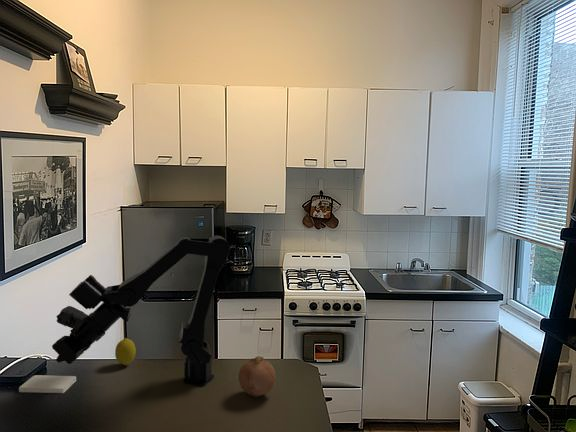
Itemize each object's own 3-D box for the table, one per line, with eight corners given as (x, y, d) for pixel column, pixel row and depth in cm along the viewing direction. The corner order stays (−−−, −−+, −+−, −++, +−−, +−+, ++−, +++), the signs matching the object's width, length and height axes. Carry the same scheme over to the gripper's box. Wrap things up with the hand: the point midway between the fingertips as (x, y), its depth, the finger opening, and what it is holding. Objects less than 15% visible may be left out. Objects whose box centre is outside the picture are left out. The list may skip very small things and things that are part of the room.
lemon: (129, 370, 128) (129, 342, 127) (111, 368, 129) (111, 340, 128) (139, 362, 133) (139, 336, 132) (122, 360, 134) (122, 334, 134)
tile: (76, 376, 120) (34, 375, 120) (63, 388, 113) (19, 387, 113) (76, 382, 120) (34, 381, 120) (63, 395, 113) (19, 393, 113)
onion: (247, 384, 121) (248, 348, 120) (280, 391, 118) (281, 353, 117) (231, 400, 112) (232, 361, 111) (266, 407, 109) (267, 367, 108)
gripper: (93, 288, 124) (53, 326, 125) (60, 307, 106) (13, 352, 107) (122, 317, 125) (82, 355, 126) (94, 341, 106) (47, 385, 107)
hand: (57, 360), depth 116 cm, fingers closed
